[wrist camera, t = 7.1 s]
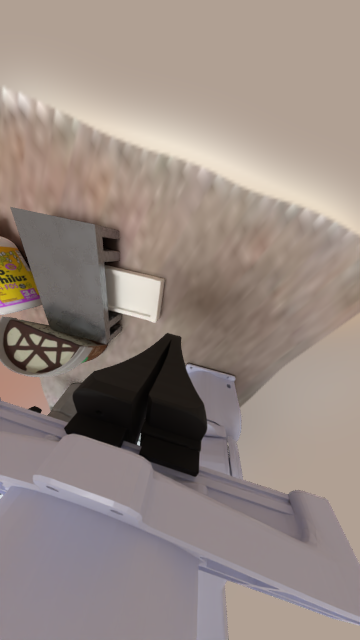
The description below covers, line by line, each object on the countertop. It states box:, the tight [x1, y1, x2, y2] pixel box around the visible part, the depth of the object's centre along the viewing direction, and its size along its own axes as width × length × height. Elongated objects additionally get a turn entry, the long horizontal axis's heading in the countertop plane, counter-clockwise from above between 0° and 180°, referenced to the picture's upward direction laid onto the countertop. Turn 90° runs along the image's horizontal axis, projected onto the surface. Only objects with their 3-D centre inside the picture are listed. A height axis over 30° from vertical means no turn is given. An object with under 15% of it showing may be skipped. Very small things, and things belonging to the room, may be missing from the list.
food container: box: [0, 317, 107, 377], centre depth 22 cm, size 12×6×10 cm
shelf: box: [11, 207, 122, 344], centre depth 20 cm, size 10×16×4 cm, turn 170°
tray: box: [105, 265, 165, 323], centre depth 21 cm, size 12×6×2 cm, turn 79°
